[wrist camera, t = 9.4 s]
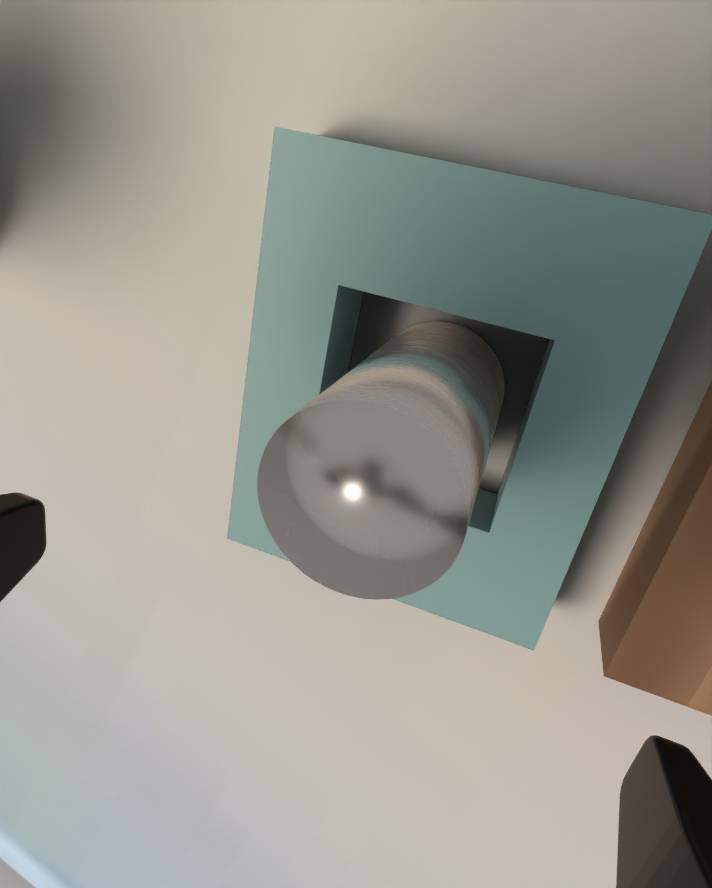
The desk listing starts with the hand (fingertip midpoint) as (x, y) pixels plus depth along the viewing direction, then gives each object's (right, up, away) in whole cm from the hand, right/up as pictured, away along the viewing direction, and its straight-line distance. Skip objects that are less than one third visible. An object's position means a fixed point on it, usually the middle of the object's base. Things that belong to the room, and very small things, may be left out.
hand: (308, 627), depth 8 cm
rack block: (+3, +4, +10) cm, 11 cm away
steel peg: (+3, +4, +10) cm, 11 cm away
